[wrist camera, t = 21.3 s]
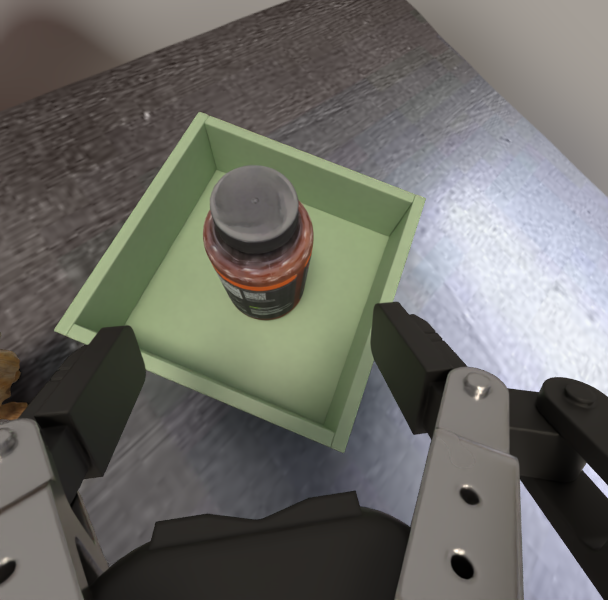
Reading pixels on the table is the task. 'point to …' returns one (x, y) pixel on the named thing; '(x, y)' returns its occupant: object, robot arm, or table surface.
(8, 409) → the lion figurine
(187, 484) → the table surface
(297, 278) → the supplement bottle
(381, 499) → the table surface
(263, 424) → the table surface
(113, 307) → the desk bin
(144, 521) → the table surface
